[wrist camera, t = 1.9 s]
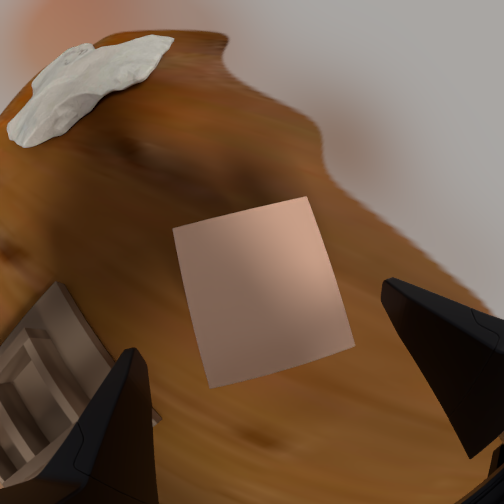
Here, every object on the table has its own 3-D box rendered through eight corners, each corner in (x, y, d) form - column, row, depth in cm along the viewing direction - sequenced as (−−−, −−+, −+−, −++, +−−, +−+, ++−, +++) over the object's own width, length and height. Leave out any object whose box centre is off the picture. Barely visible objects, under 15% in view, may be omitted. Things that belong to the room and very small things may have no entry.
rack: (162, 418, 16) (144, 435, 12) (34, 505, 12) (14, 517, 8) (64, 284, 18) (35, 273, 15) (-32, 404, 14) (-56, 406, 11)
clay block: (292, 341, 18) (355, 345, 7) (231, 358, 17) (209, 388, 7) (273, 274, 19) (306, 196, 8) (213, 290, 19) (172, 228, 8)
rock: (109, 183, 21) (190, 58, 24) (79, 156, 17) (179, 25, 19) (4, 151, 25) (66, 62, 27) (-17, 134, 20) (51, 42, 23)
